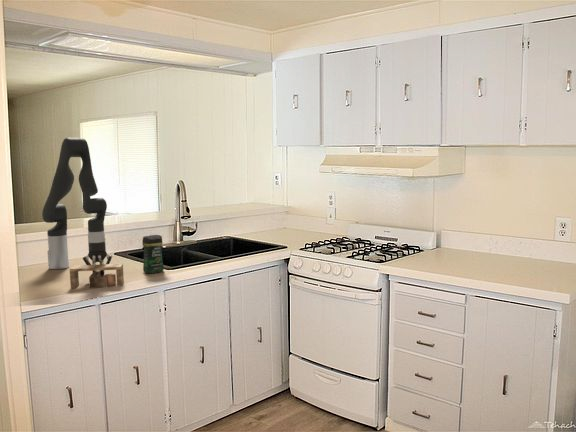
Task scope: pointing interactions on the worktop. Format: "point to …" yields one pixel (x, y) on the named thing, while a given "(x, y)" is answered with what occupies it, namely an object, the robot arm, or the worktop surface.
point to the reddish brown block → (111, 279)
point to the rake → (98, 280)
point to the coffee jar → (152, 254)
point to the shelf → (74, 270)
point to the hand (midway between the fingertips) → (98, 276)
